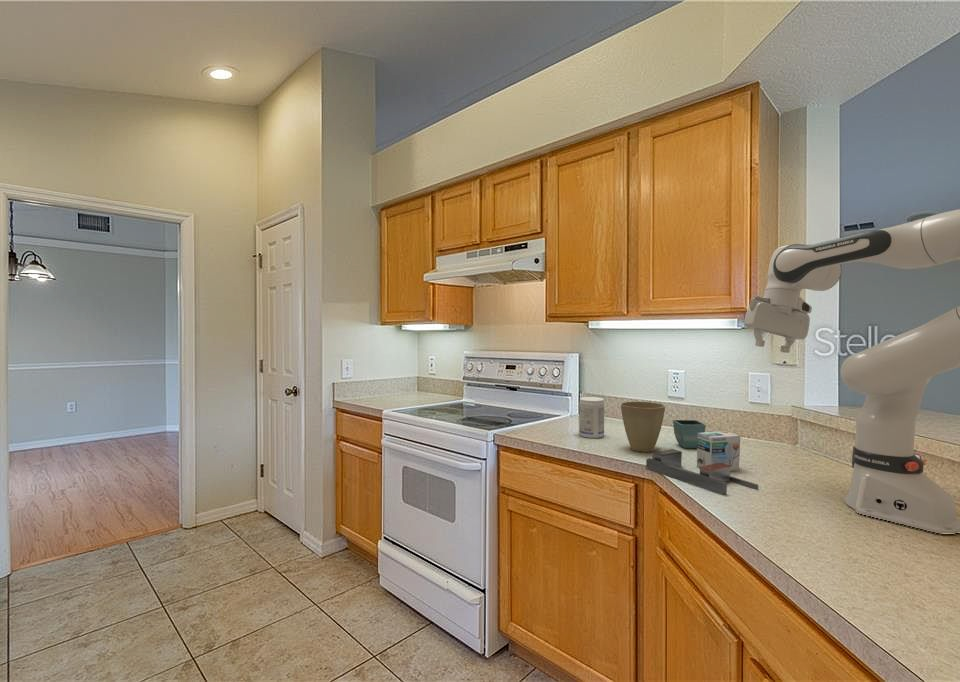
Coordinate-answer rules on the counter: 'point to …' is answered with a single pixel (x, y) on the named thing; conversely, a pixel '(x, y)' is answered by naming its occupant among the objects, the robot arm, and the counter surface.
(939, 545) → the counter surface
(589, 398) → the supplement tub
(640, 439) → the plant pot
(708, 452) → the light bulb box
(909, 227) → the robot arm
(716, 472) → the block
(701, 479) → the vise base
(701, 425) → the flower pot
